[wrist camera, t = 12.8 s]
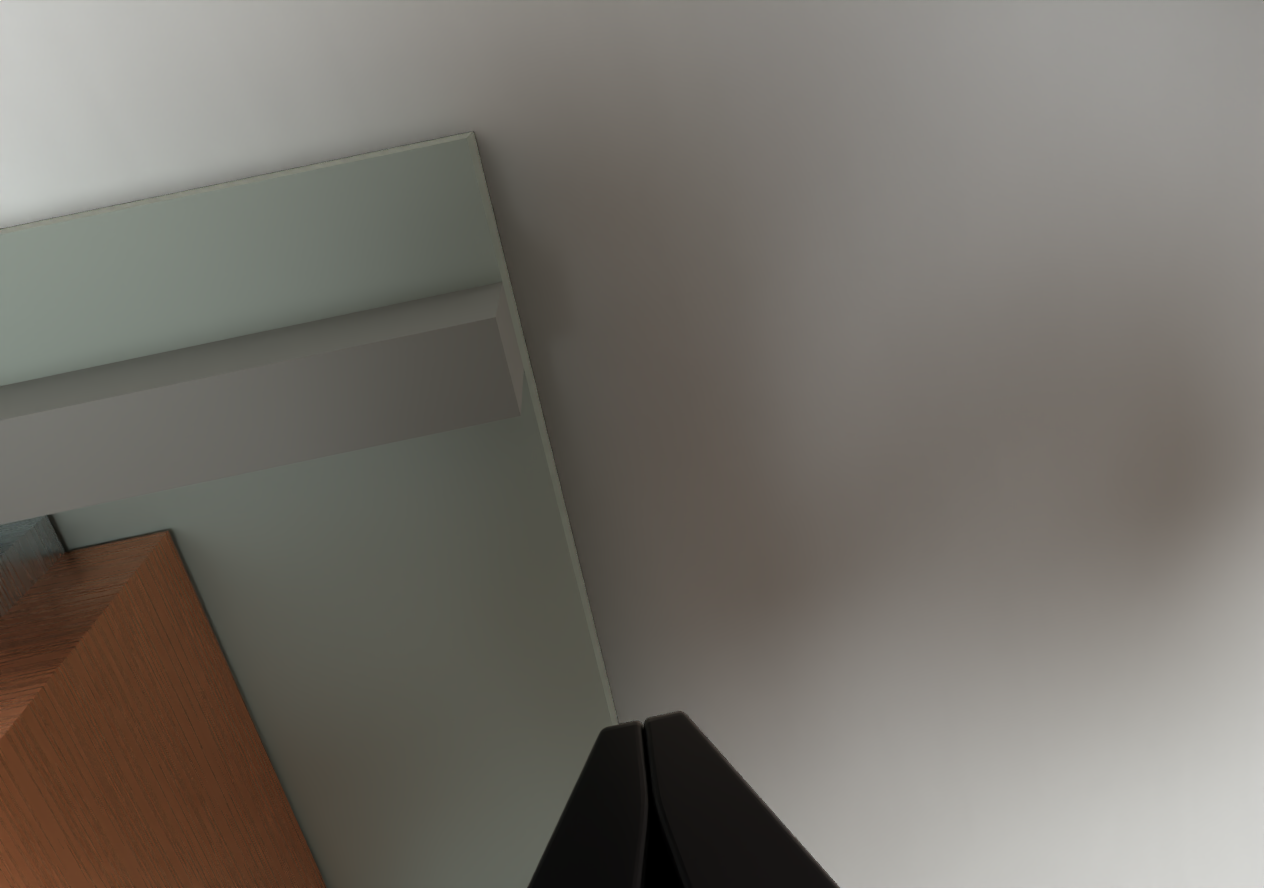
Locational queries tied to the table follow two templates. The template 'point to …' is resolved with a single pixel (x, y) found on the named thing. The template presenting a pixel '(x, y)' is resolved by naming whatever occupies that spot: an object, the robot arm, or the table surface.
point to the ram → (127, 729)
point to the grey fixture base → (328, 489)
